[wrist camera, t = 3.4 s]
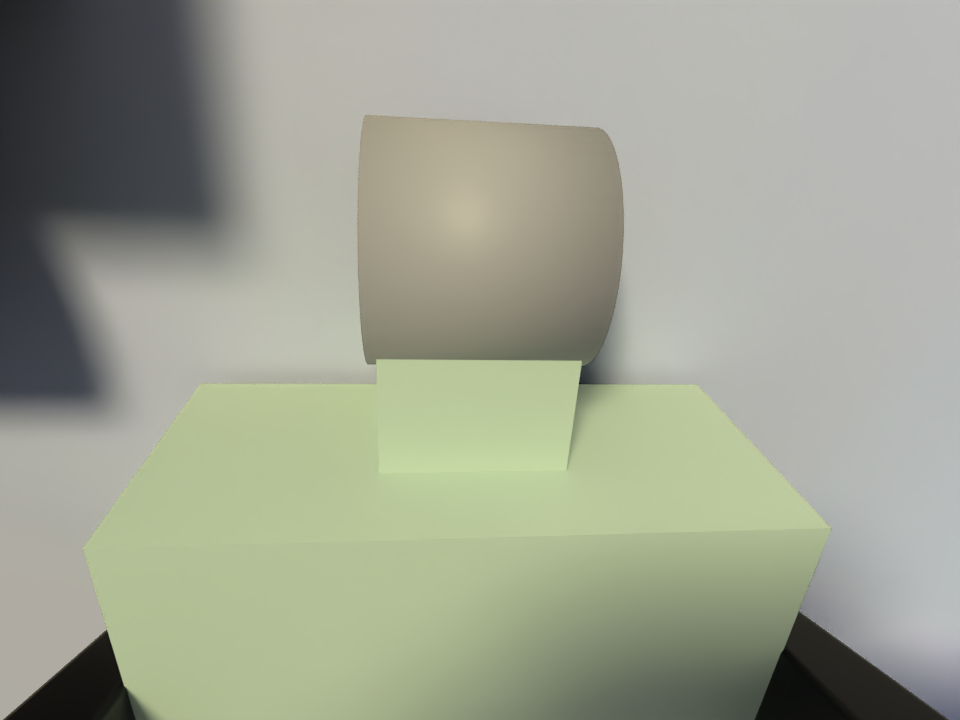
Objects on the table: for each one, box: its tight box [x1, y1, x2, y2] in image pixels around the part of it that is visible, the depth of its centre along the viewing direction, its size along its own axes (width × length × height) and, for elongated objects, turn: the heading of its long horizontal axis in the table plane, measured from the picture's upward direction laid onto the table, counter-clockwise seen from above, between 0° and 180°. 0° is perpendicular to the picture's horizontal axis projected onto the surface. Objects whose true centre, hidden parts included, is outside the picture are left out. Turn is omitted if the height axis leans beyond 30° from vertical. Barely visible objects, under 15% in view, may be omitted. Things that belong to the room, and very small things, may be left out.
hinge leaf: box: [83, 115, 831, 720], centre depth 7 cm, size 7×8×3 cm
